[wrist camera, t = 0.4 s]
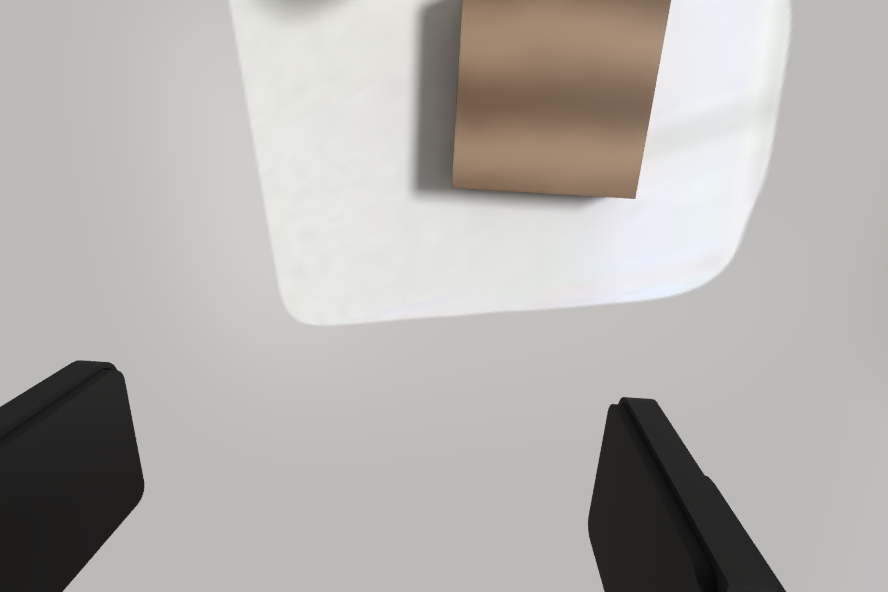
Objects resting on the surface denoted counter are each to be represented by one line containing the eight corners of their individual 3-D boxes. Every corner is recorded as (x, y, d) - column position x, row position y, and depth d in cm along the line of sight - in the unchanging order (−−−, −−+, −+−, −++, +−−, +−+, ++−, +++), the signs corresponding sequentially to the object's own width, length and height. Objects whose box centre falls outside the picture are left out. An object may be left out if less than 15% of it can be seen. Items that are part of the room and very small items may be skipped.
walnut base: (464, -10, 32) (463, -22, 29) (655, -1, 32) (673, -13, 29) (453, 182, 36) (451, 187, 33) (622, 192, 36) (635, 198, 33)
